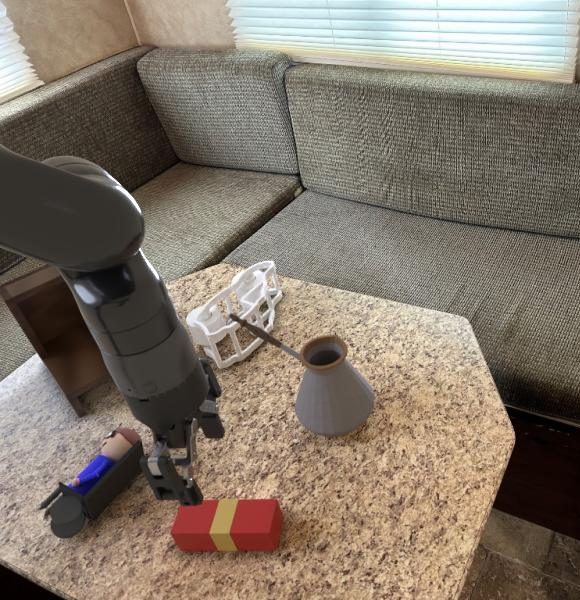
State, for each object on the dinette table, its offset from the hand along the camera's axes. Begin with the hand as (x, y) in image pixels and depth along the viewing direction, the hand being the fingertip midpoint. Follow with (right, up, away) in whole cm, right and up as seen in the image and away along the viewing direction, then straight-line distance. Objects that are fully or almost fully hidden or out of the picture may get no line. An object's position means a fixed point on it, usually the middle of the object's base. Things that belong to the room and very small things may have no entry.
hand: (205, 467), depth 67 cm
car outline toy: (-5, +14, +39) cm, 42 cm away
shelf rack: (-27, +8, +34) cm, 44 cm away
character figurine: (-17, -8, +14) cm, 24 cm away
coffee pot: (+8, +3, +23) cm, 25 cm away
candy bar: (+1, -10, +8) cm, 13 cm away
